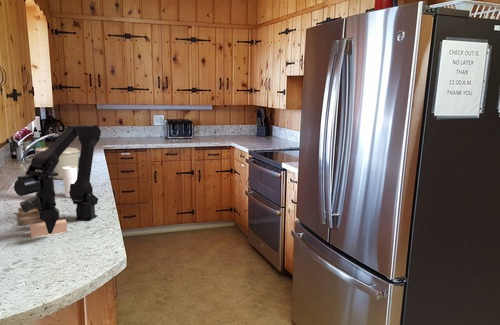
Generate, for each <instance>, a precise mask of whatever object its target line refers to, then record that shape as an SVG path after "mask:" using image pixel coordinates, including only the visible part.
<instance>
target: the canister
mask: <svg viewBox="0 0 500 325" xmlns="http://www.w3.org/2000/svg"><path fill="white" fill-rule="evenodd" d="M80 152H81V149H78V148H76V147H67V149H66V150H65V151H64V152H63V153H62V154H61V155H60V157H59V162H58V164H57V166H56V167H55V169H54V171H55V172H56V173H58V176H53V179H54V180H55V179H56V180H63V177H62V167H67V166H75V167H76V168H77V174H78V167H79V159H80V154H79V153H80Z"/></svg>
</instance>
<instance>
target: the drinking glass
mask: <svg viewBox="0 0 500 325" xmlns="http://www.w3.org/2000/svg"><path fill="white" fill-rule="evenodd" d="M77 174H78V173H77V168H76V167H75V166H67V167H62V177H63V179H62V183H63V187H64V195H65V196H64V197H66V198H69V199H71V198H70V194H69V191H70V185H71V184H74V183H75V181H76V180H77Z"/></svg>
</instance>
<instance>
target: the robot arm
mask: <svg viewBox="0 0 500 325" xmlns="http://www.w3.org/2000/svg"><path fill="white" fill-rule="evenodd" d="M101 134H102V130H101V129H100V127H99V126H98V125H95V124H81V125H74V124H72V125H71V124H70V125H67V126H66V127H65V129H64V131H63V132H61V134H60V135H59V136H58V137H57V138H56V139H55V140H54V141H53V143H52V144H51V145H49V147H47V148H48V149H46V150H44V151H42V152H40V153H39V154H37V155H36V154H35V155H34V156H33V157H32V159H31V161H30V162H31V163H30V165H29V166H28V168H27V170H26V172H25V175H19V176H17V180H16V181H15V183H14V185H13V189H14V192H15V193H16V195H18V196H19V197H24V196H28V195H31V194H35V195H34V196H32V197H30V198H27V199H25V200H22V201H21V202H20V203H19V205H20V207H21V208H22V210H23V211H24V213H26V212H28V211H29V210H32V209H34V208H36V207H37V210H38V211H39V218H40V220H43V221H44V222H45V224H46V227H47V230H48V233H49V234H50V235H52V234H51V233H52V231H53V229H54V226H55V224H56V221H57V219H58V217H59V218H60V211H59V210H60V209H59V208H57V207H56V206H57V203H56V192H55V178H54V177H53V176H58V173H56V172H55V171H54V169H55V167H56V166H57V164H58V162H59V157H60V155H61V154H62V153H63V152H64V151H65V150H66V149H67V148H69V146H70V145H71V144H72V143H73V142H74V140H76V139H77V138H78V141H79V143H80V145H81V146H80V152H79V153H80V154H79V158H78V173H77V180H76V181H75V183H74V184H71V185H70V191H69V194H70V198H69V199H70V200H71V201H72V204H73V205H76V207H75V214H76V218H75V220H76V221H87V222H89V221H91V220H93V219H94V218H97V217H98V214H96V208H95V206H96V205H97V204H98V202H99V198H98V197H97V196H96V195H95V194H93V192H94V190H93V186H92V183H91V181H90V180H91V174H92V167H93V166H92V164H93V159H94V152H95V147H96V146H97V144H98V143H99V141H100V139H101V138H100V137H101ZM37 171H42V172H37Z"/></svg>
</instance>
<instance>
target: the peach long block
mask: <svg viewBox="0 0 500 325" xmlns="http://www.w3.org/2000/svg"><path fill="white" fill-rule="evenodd" d="M29 231H30V237H31V238H36V237H35V236H37V237H42V235H43V236H49V235H48V234H49V233H48V230H47V227H46V224H45V222H43V223H36V224H29ZM61 232H62V233H67V232H68V223H67V220H66V219H60V220H57V221H56V224H55V226H54V229H53V231H52V233H51V234H50V235H56V234H60V233H61Z"/></svg>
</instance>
